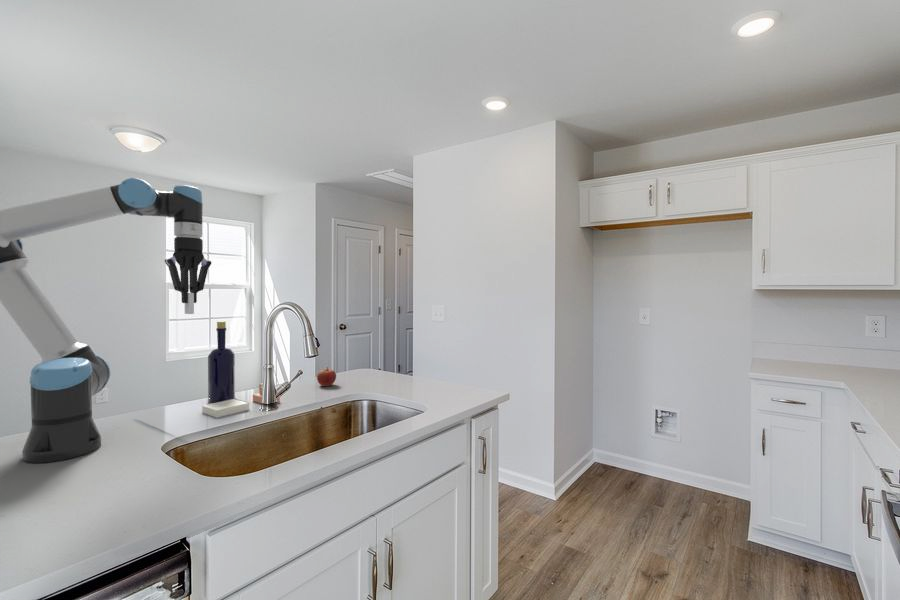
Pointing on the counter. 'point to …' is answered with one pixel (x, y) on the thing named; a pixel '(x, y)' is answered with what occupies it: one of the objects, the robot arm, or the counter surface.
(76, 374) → the robot arm
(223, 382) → the bottle
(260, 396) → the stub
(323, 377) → the apple
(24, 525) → the counter surface
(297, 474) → the counter surface
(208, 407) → the cream rectangular slab
